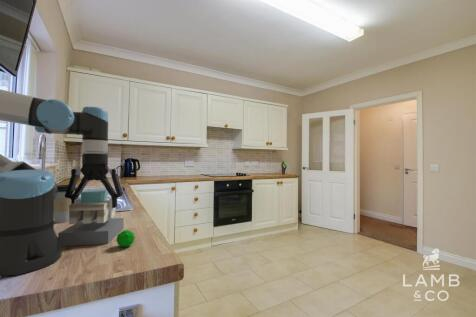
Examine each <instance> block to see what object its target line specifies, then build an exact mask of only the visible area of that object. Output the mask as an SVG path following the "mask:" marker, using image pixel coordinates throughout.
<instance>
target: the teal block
mask: <svg viewBox="0 0 476 317" xmlns="http://www.w3.org/2000/svg"><path fill="white" fill-rule="evenodd" d="M108 194H109V193H108V191H107V190H106V189H88V190H84V191H82V192H81V194H80V199H81V203H101V202H103V201H105V200H107V199H108V198H109V196H108Z"/></svg>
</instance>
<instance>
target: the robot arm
mask: <svg viewBox="0 0 476 317" xmlns="http://www.w3.org/2000/svg"><path fill="white" fill-rule="evenodd" d="M108 115H109V114H108V111H107V109H105V108H102V107H99V106H84V107H83V108H82V110H81V111H73V110H72V107H70V106H69V105H68V104H67V103H66V102H64V101H62V100H60V99H53V98H51V99H44V98H39V97H35V96H32V95H31V96H30V95H26V94H22V93H18V92H13V91H8V90H4V89H0V121H2V122H9V123H13V124H18V125H26V126H30V127H34V129H35V131H36V132H37V133H39V134H41V133H43V134H49V135H51V134H55V135H56V134H57V135H76V136H81V137H82V138H81V141H82V146H81V151H82V152H83V154H82V155H81V164H82V165H81V168H71V170H70V173H71V174H70V175H71V176H70V179H69V182H68V184H67V185H68V187H67V190H66V193H65V198H70V199H71V204H73V203H76V202H79V201H81V198H80V196H81V192H84V191H83V190H84V189H85V187H86V186H87V184H88V183H89V182H90V181H94V180H95V181H100V183H101V184H102V185H103V186H104V188H105V190H107V191H108V194H109V195H110V198H111V199H109V218H110V219H111V218H115V215H114V208H116V209H117V207H118V198H120V197H122V196H124V192H123V189H122V185H121V182H120V179H119V175H118V173H119V172H118V168H109V165H108V162H109V155H108V154H107V153H108V152H109V151H108V150H109V149H108V148H109V139H108V138H109V116H108ZM81 173H82V175H83V177H82V179H81V180H80V183H79V184H78V186H77V182H78V180H79V177H80V175H81ZM108 173H109V175H110V176H111V180H112V183H113V186H114V187H113V186H112V184H111V182H110V181H109V178H108V177H107V175H108ZM76 186H77V187H76ZM75 187H76V188H77V189H76V190H75V192H74V189H75ZM57 188H58V187H57V182H56V179H55V176H54V174H53V173H52V172H51V171H48V170H43V169H36V168H35V167H33V166H31V165H29V164H28V163H27V162H25V161H12V160H11V159H9V158H8V157H6V156H4V155H2V153H0V276H6V277H9V276H8V275H13V276H17V275H22V274H26V273H31V272H33V271H37V270H40V269H42V268H45V267H47V266H51V265H52V264H53V263H56V262H57V261H59V260H60V259H61V258H62V256H63V255H62V253H63V252H62V251H63V250H62V249H63V248H62V246H61V245H60V242H59V240H58V234H57V233H56V231H55V226H54V225H55V224H54V223H55V220H54V200H55V198H56V196H57V192H58V189H57ZM73 192H74V193H73Z"/></svg>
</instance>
